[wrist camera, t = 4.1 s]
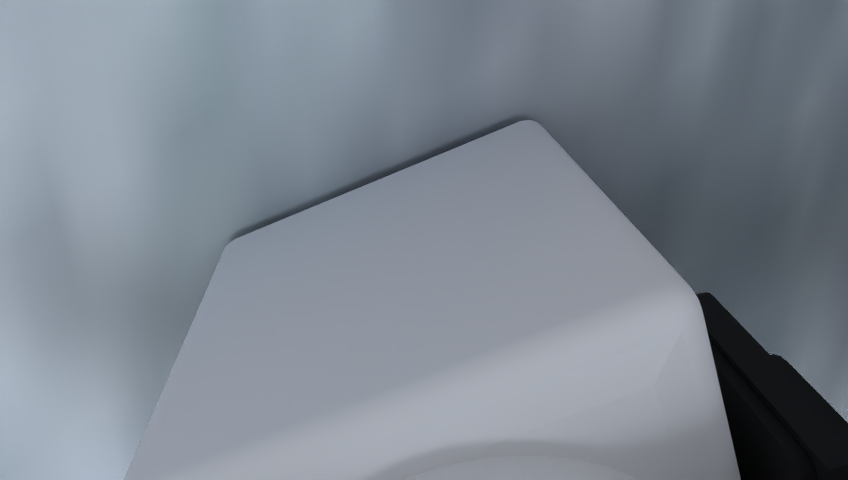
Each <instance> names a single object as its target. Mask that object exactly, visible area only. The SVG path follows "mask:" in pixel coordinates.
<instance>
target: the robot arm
mask: <svg viewBox="0 0 848 480" xmlns="http://www.w3.org/2000/svg"><path fill="white" fill-rule="evenodd" d="M696 296H697V297H698V299H699V302H700V305H701V307H702V311H703V315H704V319H705V324H706V328H707V333H708V337H709V341H710V346H711V350H712V355H713V359H714V363H715V368H716V372H717V377H718V381H719V385H720V390H721V394H722V399H723V403H724V407H725V412H726V416H727V421H728V425H729V429H730V434H731V438H732V443H733V447H734V451H735V456H736V460H737V465H738V469H739V473H740V478H741V480H848V423H847V422H846V421H845V420H844V419H843V418H842V417H841V416H840V415H839V414H838V413H837V412H836V411H835V410H834V409H833V408H832V407H831V406H830V404H829V403H828V402H827V401H826V400H825V399H824V398H823V397H822V396H821V395H820V394H819V393H818V392H817V391H816V390H815V389H814V388H813V387H812V386H811V385H810V384H809V383H808V382H807V381H806V380H805V379H804V378H803V377H802V376H801V375H800V374H799V373H798V372H797V371H796V370H795V369H794V368H793V367H792V366H791V365H790V364H789V363H788V362H787V361H786V360H784V359H783V358H782V357H781V356H778V355H775V354H773V355H769V354H768V353H767V352H766V351H765V350H764V348H763V347H762V346H761V345H760V344H759V343H758V342H757V341H756V340H755V339H754V338H753V337H752V336H751V335H750V334H749V333H748V332H747V331H746V330H745V329H744V328H743V327H742V326H741V324H740V323H739V322H738V321H737V320H736V319H735V318H734V317H733V316H732V315H731V314H730V313H729V312H728V311H727V310H726V309H725V308H724V307H723V306H722V305H721V304H720V303H719V302H718V301H717V299H716V298H715V297H714V296H713V295H711V294H710V293H707V292H705V293H701V294H696Z"/></svg>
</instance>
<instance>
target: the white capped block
mask: <svg viewBox="0 0 848 480" xmlns="http://www.w3.org/2000/svg"><path fill="white" fill-rule="evenodd" d="M124 480H741V478H740V473H739V469H738V465H737V460H736V456H735V451H734V447H733V443H732V438H731V434H730V429H729V425H728V421H727V416H726V412H725V407H724V403H723V399H722V394H721V390H720V385H719V381H718V377H717V372H716V368H715V363H714V359H713V355H712V350H711V346H710V341H709V337H708V333H707V328H706V324H705V319H704V315H703V311H702V307H701V305H700V302H699V299H698V297H697V296H696V294H695V293H694V291H693V290H692V288H691V287H690V286H689V285H688V283H687V282H686V281H685V280H684V279H683V278H682V277H681V276H680V275H679V274H678V273H677V272H676V270H675V269H674V268H673V267H672V266H671V265H670V264H669V263H668V262H667V261H666V260H665V259H664V257H663V256H662V255H661V254H660V253H659V252H658V251H657V250H656V249H655V248H654V247H653V246H652V244H651V243H650V242H649V241H648V240H647V239H646V238H645V237H644V236H643V235H642V234H641V233H640V231H639V230H638V229H637V228H636V227H635V226H634V225H633V224H632V223H631V222H630V221H629V220H628V219H627V217H626V216H625V215H624V214H623V213H622V212H621V211H620V210H619V209H618V208H617V207H616V206H615V204H614V203H613V202H612V201H611V200H610V199H609V198H608V197H607V196H606V195H605V194H604V193H603V191H602V190H601V189H600V188H599V187H598V186H597V185H596V184H595V183H594V182H593V181H592V180H591V178H590V177H589V176H588V175H587V174H586V173H585V172H584V171H583V170H582V169H581V168H580V167H579V165H578V164H577V163H576V162H575V161H574V160H573V159H572V158H571V157H570V156H569V155H568V154H567V153H566V151H565V150H564V149H563V148H562V147H561V146H560V145H559V144H558V143H557V142H556V141H555V140H554V138H553V137H552V136H551V135H550V134H549V133H548V132H547V131H546V130H545V129H544V128H543V127H542V125H541V124H540V123H537V122H535V121H532V120H524V121H519V122H517V123H514V124H512V125H509V126H507V127H505V128H502V129H500V130H497V131H495V132H492V133H490V134H488V135H485V136H483V137H480V138H478V139H476V140H473V141H471V142H468V143H466V144H463V145H461V146H459V147H456V148H454V149H451V150H449V151H446V152H444V153H442V154H439V155H437V156H434V157H432V158H430V159H427V160H425V161H422V162H420V163H417V164H415V165H413V166H410V167H408V168H405V169H403V170H401V171H398V172H396V173H393V174H391V175H388V176H386V177H384V178H381V179H379V180H376V181H374V182H371V183H369V184H367V185H364V186H362V187H359V188H357V189H355V190H352V191H350V192H347V193H345V194H342V195H340V196H338V197H335V198H333V199H330V200H328V201H325V202H323V203H321V204H318V205H316V206H313V207H311V208H309V209H306V210H304V211H301V212H299V213H296V214H294V215H292V216H289V217H287V218H284V219H282V220H279V221H277V222H275V223H272V224H270V225H267V226H265V227H263V228H260V229H258V230H255V231H253V232H250V233H248V234H246V235H243V236H241V237H238V238H236V239H234V240H233V241H231V242H230V243H229V244H227V245H226V246H225V248H224V250H223V252H222V255H221V257H220V259H219V262H218V264H217V266H216V269H215V271H214V273H213V275H212V278H211V280H210V282H209V285H208V287H207V289H206V292H205V294H204V296H203V298H202V301H201V303H200V305H199V308H198V310H197V312H196V315H195V317H194V319H193V322H192V324H191V326H190V328H189V331H188V333H187V335H186V338H185V340H184V342H183V345H182V347H181V349H180V351H179V354H178V356H177V358H176V361H175V363H174V365H173V368H172V370H171V372H170V374H169V377H168V379H167V381H166V384H165V386H164V388H163V391H162V393H161V395H160V398H159V400H158V402H157V404H156V407H155V409H154V411H153V414H152V416H151V418H150V421H149V423H148V425H147V427H146V430H145V432H144V434H143V437H142V439H141V441H140V444H139V446H138V448H137V450H136V453H135V455H134V457H133V460H132V462H131V464H130V467H129V469H128V471H127V474H126V476H125V478H124Z"/></svg>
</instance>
